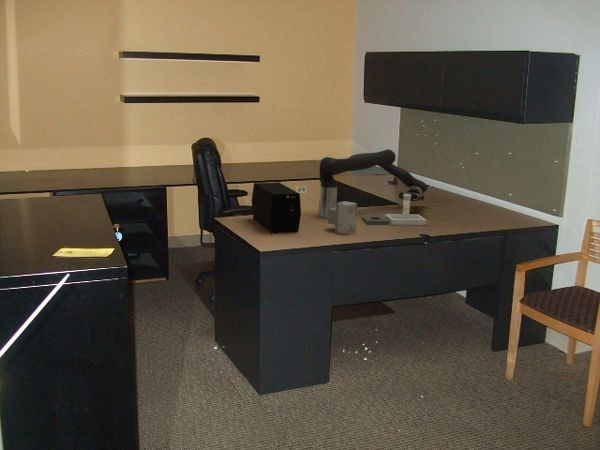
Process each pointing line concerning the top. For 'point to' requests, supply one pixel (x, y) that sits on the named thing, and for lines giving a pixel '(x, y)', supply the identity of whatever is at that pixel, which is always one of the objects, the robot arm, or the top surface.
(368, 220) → the fuse holder
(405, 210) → the fuse
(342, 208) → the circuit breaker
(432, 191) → the top surface
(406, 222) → the tray
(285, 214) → the uninterruptible power supply
